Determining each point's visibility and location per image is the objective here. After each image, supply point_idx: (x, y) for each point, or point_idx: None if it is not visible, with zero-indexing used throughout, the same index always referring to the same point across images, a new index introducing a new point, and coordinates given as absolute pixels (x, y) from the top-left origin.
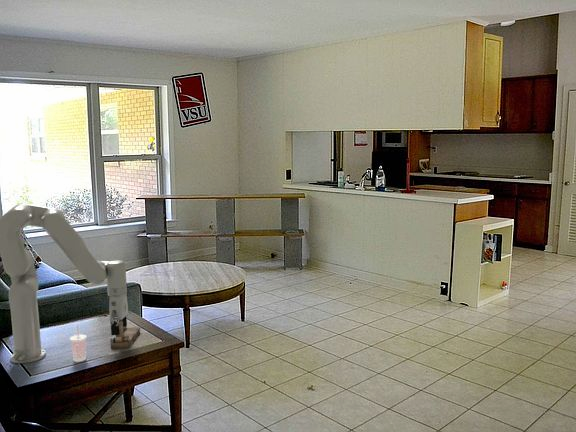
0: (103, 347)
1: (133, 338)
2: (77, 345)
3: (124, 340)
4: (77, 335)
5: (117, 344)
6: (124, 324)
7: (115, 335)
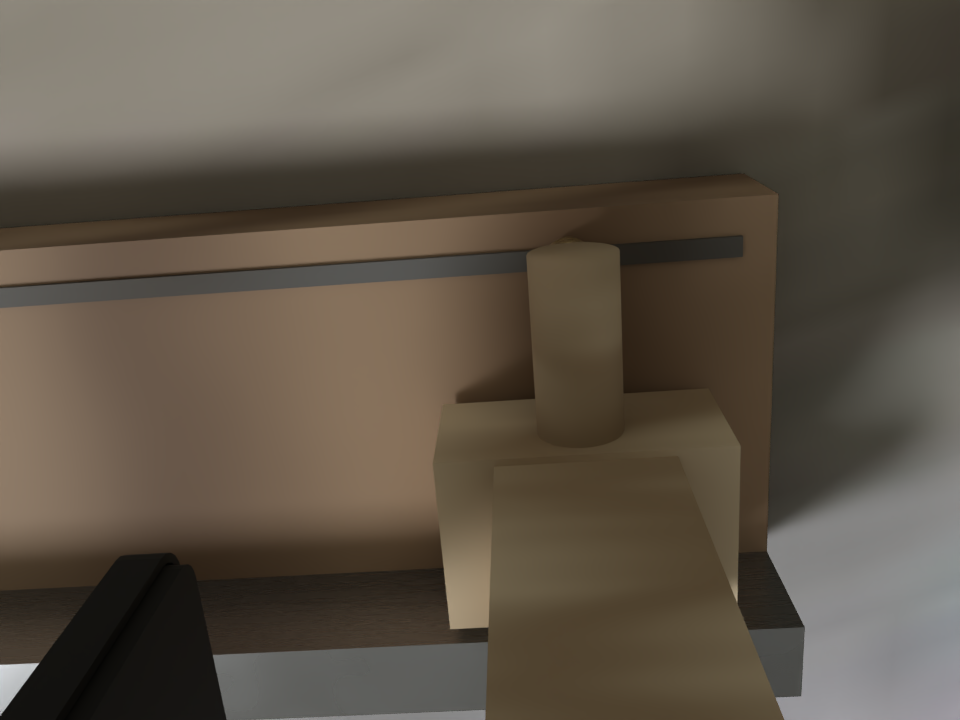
0: None
1: (225, 221)
2: None
3: None
4: None
5: (762, 446)
6: (174, 658)
7: None
